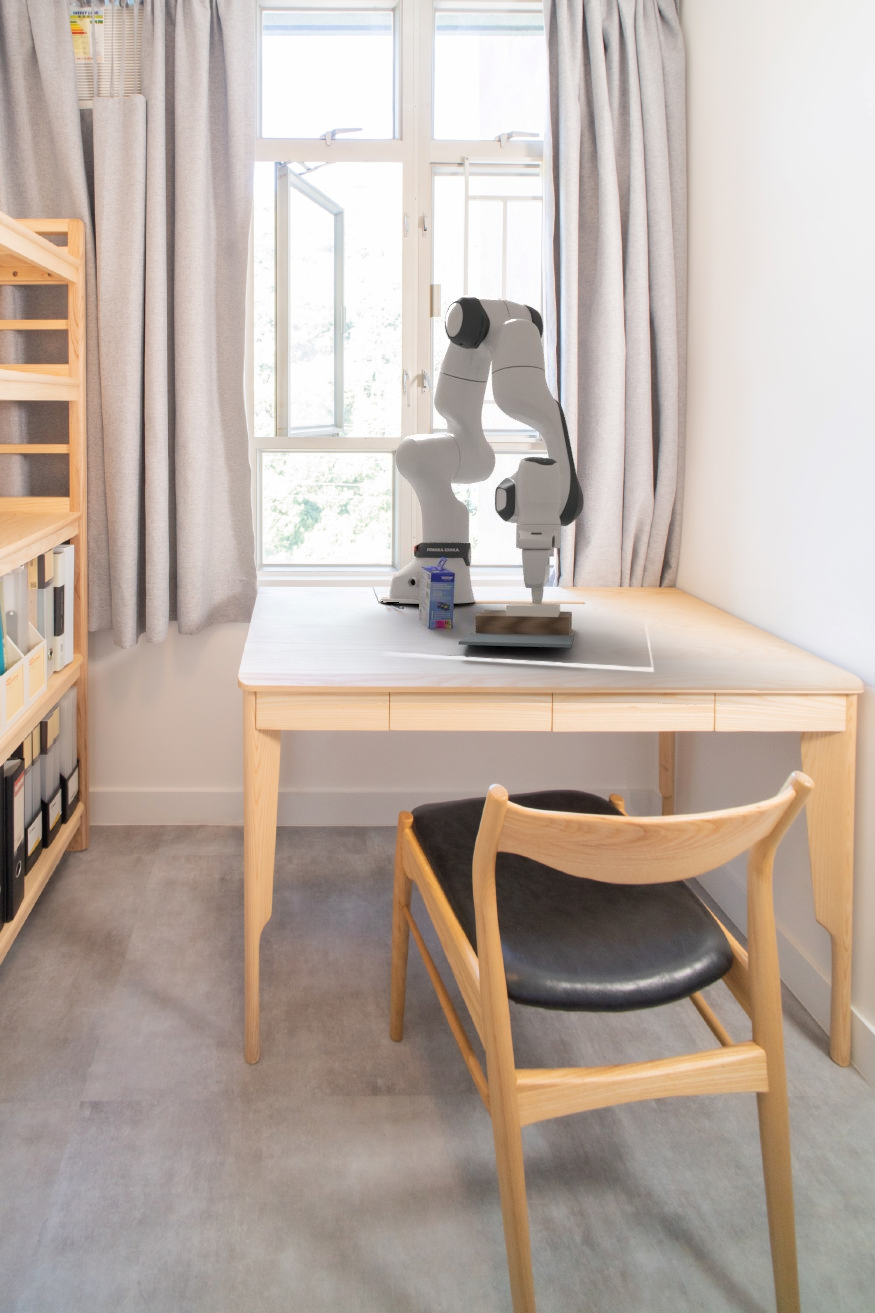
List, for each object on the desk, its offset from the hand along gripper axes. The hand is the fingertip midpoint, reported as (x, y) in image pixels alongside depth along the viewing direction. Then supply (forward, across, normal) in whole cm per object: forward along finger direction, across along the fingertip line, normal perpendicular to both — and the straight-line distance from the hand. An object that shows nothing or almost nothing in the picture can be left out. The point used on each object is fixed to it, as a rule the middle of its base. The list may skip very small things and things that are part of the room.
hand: (537, 608), depth 190 cm
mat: (+5, +16, -2) cm, 17 cm away
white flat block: (+1, +5, 0) cm, 5 cm away
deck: (+5, +2, -2) cm, 6 cm away
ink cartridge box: (+5, -3, -21) cm, 22 cm away
